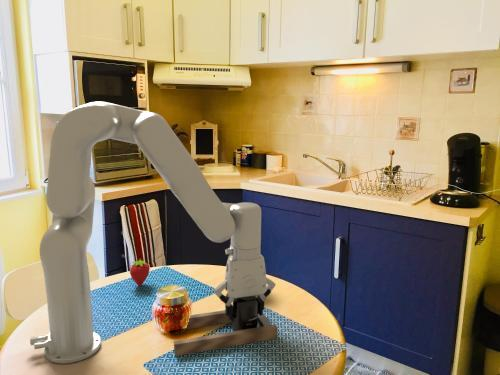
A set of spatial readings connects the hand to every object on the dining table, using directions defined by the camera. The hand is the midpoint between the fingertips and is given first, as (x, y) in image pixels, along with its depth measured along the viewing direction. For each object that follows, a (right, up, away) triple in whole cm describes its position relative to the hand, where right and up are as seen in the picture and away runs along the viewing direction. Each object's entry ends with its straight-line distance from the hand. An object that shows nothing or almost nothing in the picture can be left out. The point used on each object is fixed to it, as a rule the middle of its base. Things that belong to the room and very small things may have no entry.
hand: (244, 314), depth 111 cm
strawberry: (-34, +1, +26) cm, 43 cm away
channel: (-6, -5, -1) cm, 8 cm away
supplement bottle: (0, -4, +1) cm, 4 cm away
